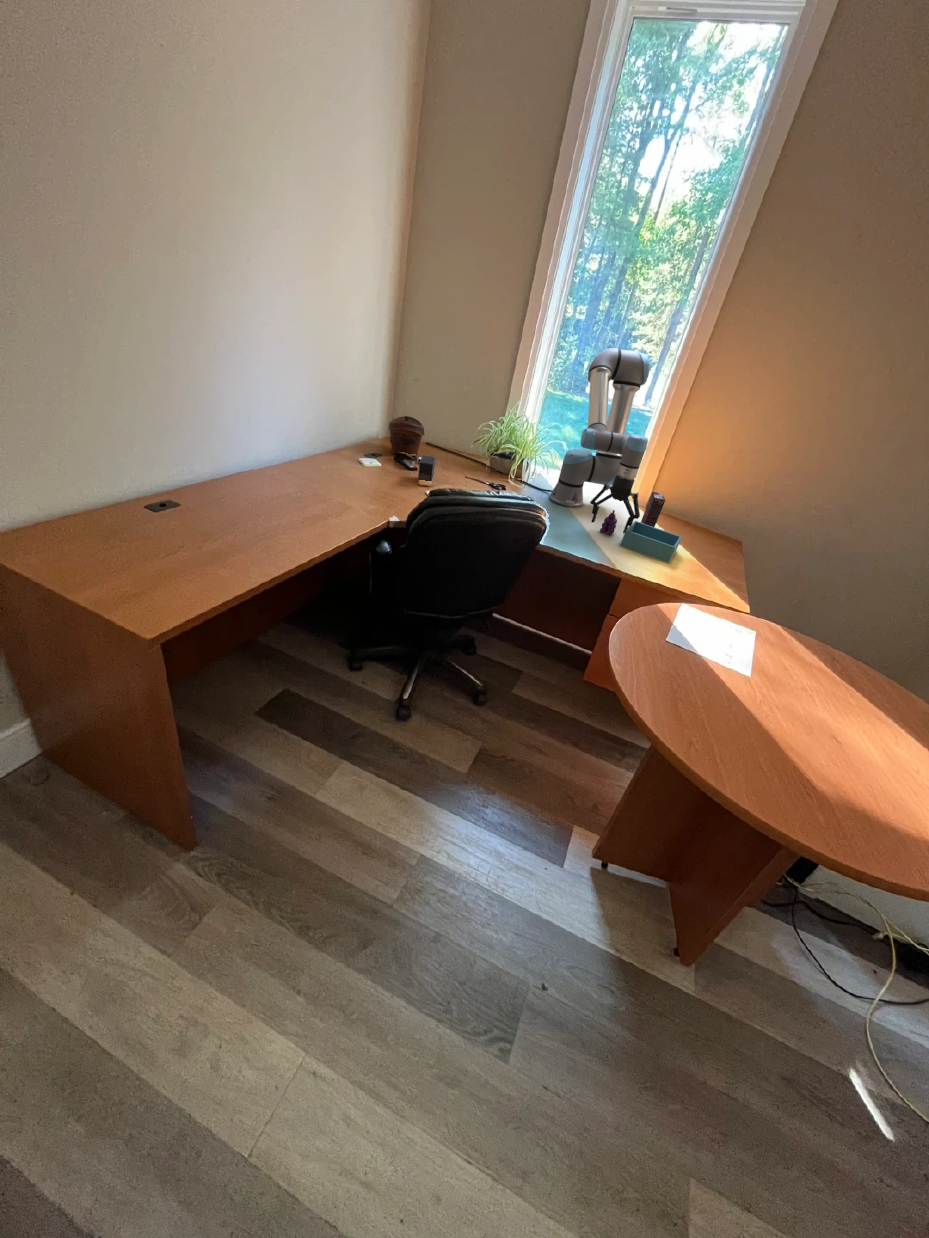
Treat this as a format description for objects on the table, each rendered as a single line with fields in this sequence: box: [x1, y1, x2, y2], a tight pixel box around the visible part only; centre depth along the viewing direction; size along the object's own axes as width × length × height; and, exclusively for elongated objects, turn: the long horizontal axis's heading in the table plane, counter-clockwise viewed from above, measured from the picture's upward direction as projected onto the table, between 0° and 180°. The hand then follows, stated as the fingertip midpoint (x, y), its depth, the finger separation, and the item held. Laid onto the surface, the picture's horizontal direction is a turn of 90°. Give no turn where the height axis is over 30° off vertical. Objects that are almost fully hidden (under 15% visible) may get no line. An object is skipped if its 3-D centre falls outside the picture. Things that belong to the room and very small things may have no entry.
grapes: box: [599, 509, 618, 537], centre depth 202 cm, size 5×5×11 cm
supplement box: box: [640, 491, 666, 528], centre depth 210 cm, size 9×5×16 cm, turn 168°
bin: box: [620, 520, 683, 564], centre depth 196 cm, size 20×14×7 cm
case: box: [387, 415, 425, 456], centre depth 247 cm, size 18×20×18 cm
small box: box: [417, 455, 436, 481], centre depth 220 cm, size 11×6×10 cm, turn 178°
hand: (608, 527), depth 202 cm, fingers open, 13 cm apart
